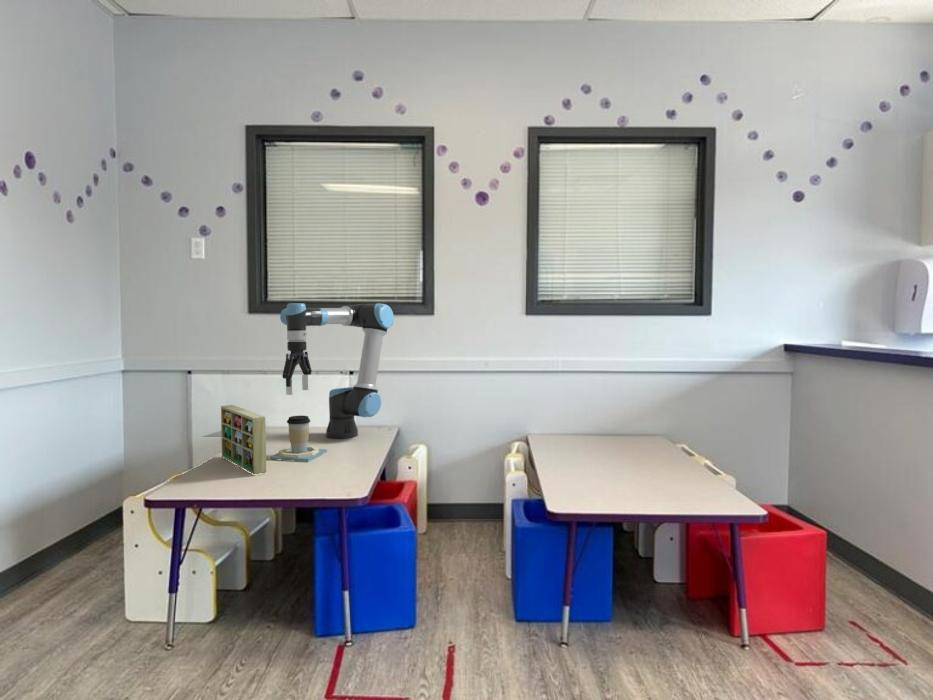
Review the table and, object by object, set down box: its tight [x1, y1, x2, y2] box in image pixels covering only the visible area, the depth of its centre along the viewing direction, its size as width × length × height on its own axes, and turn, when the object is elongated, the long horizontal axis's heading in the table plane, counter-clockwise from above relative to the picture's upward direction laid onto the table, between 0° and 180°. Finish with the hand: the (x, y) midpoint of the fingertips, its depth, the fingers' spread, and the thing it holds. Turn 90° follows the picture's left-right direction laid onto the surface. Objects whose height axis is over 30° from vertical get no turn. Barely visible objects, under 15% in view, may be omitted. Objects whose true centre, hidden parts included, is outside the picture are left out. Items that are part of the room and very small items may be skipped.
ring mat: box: [269, 445, 328, 463], centre depth 246 cm, size 17×17×2 cm
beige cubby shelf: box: [220, 404, 267, 474], centre depth 230 cm, size 35×5×22 cm, turn 41°
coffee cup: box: [286, 415, 311, 454], centre depth 246 cm, size 9×9×15 cm
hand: (297, 392), depth 244 cm, fingers open, 13 cm apart
